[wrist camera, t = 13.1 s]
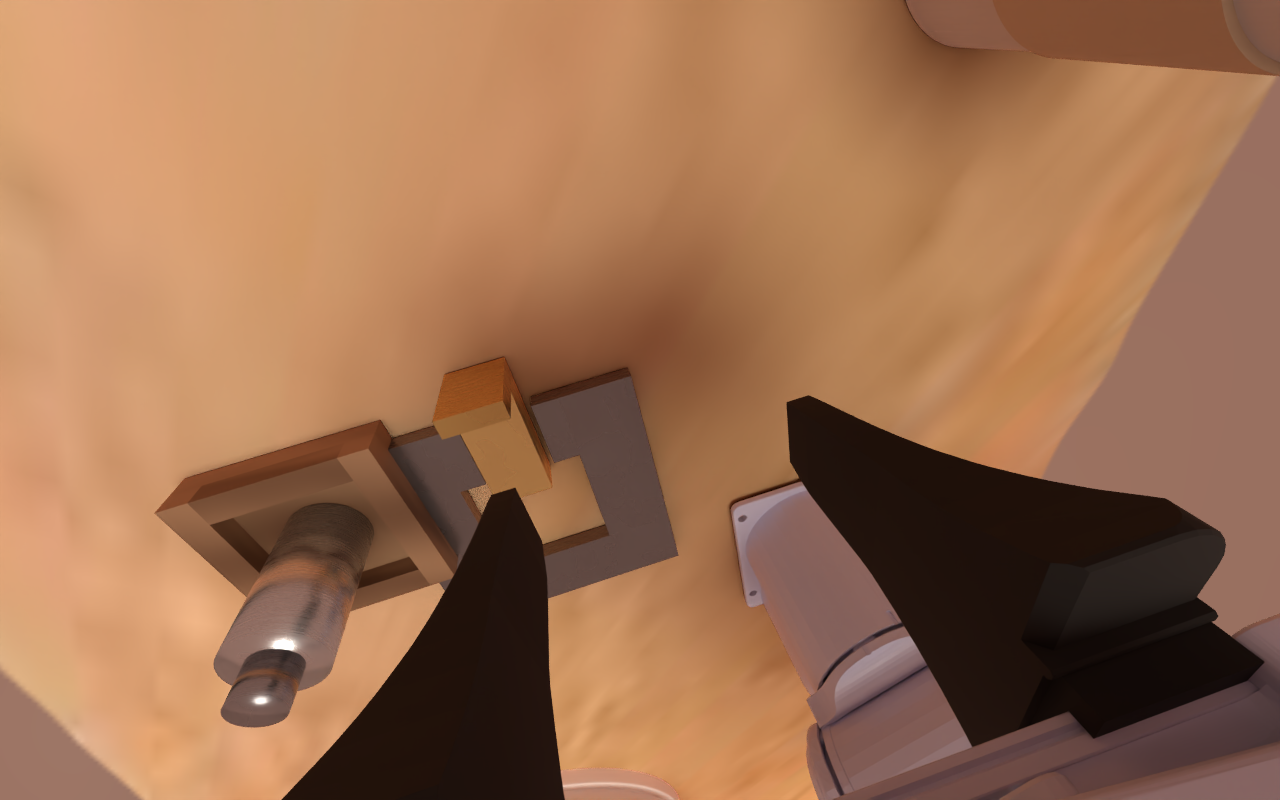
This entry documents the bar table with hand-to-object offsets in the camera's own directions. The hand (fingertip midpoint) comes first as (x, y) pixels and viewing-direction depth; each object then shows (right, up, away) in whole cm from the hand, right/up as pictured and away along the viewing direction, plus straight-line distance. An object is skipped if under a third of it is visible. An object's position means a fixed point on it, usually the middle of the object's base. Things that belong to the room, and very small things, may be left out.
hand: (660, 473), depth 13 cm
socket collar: (-6, -3, +12) cm, 14 cm away
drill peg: (-14, -4, +9) cm, 17 cm away
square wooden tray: (-14, -3, +10) cm, 18 cm away
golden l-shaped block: (-7, +1, +9) cm, 11 cm away
